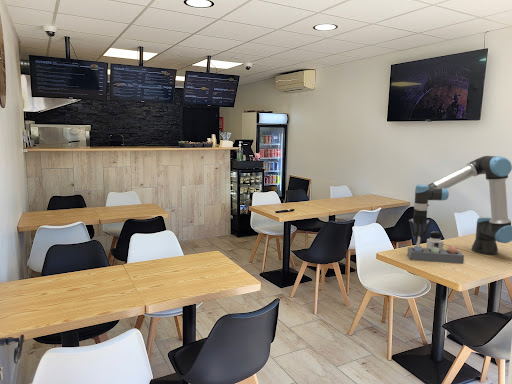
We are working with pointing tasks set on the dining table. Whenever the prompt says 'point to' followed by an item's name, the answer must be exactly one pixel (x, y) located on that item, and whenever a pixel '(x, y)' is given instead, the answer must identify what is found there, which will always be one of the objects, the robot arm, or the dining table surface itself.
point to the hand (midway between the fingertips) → (418, 246)
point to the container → (435, 240)
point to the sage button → (435, 249)
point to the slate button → (418, 248)
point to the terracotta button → (452, 249)
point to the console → (435, 256)
